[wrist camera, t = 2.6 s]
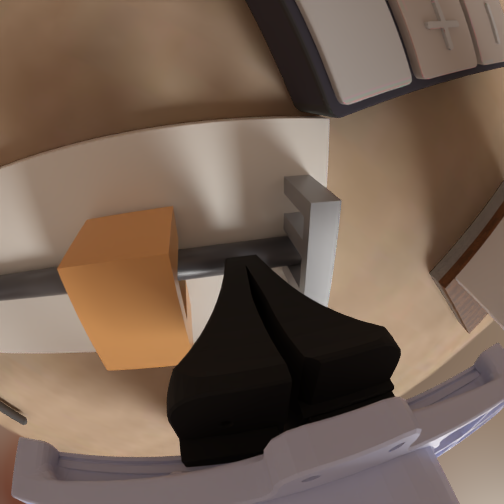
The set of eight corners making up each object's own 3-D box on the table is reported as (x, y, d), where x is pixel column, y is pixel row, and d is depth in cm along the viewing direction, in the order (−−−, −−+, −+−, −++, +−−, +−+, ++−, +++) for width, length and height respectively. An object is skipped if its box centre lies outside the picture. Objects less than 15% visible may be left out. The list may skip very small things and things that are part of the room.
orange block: (190, 304, 15) (194, 363, 12) (117, 312, 14) (107, 370, 11) (173, 206, 12) (168, 253, 9) (86, 219, 12) (56, 268, 8)
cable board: (307, 312, 19) (331, 361, 15) (-15, 343, 15) (-32, 382, 12) (320, 116, 13) (368, 130, 9) (-81, 204, 9) (-117, 234, 5)
